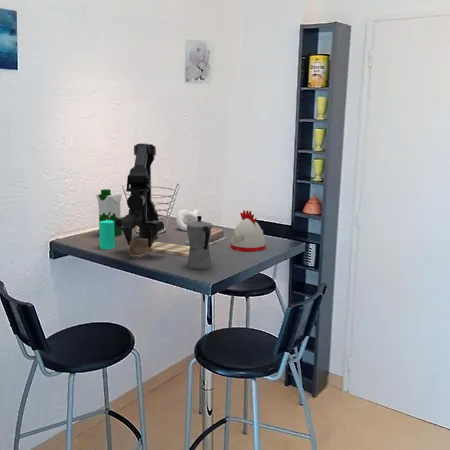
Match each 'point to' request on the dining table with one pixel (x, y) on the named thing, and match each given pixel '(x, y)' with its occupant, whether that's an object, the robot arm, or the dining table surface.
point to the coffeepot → (199, 244)
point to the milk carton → (109, 207)
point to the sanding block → (139, 247)
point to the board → (170, 249)
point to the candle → (107, 234)
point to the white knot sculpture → (186, 218)
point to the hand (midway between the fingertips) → (139, 246)
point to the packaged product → (214, 236)
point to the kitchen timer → (248, 235)
